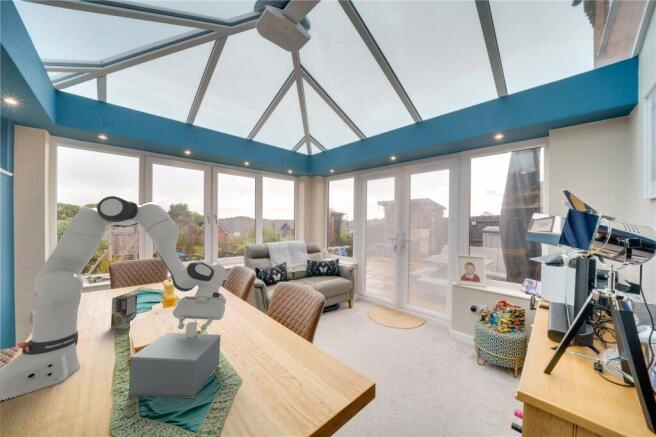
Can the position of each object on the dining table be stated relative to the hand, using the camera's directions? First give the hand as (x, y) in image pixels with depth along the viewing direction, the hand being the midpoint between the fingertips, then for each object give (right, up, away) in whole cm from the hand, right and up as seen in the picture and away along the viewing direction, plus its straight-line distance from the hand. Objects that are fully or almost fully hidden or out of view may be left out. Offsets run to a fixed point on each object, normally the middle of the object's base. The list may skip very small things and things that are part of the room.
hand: (191, 328), depth 96 cm
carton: (-1, -15, -8) cm, 17 cm away
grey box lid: (0, -3, -7) cm, 8 cm away
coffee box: (-57, -14, +34) cm, 68 cm away
